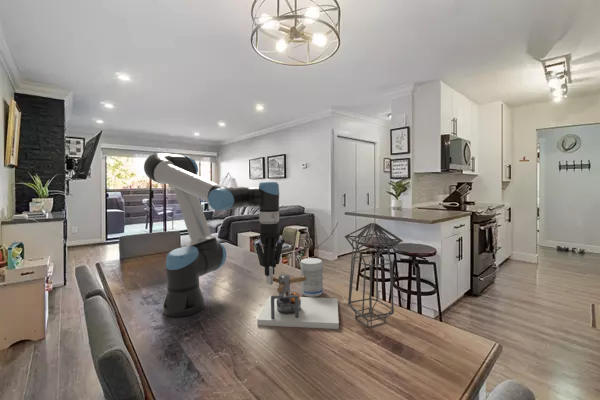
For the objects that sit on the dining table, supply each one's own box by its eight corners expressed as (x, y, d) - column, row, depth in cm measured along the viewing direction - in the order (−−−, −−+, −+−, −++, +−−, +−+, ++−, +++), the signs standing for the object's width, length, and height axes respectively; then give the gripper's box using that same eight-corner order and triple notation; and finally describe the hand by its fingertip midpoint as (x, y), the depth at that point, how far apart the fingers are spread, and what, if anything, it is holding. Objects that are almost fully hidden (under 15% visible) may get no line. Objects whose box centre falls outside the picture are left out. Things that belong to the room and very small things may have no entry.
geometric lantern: (340, 314, 106) (341, 221, 104) (374, 307, 112) (376, 219, 110) (366, 335, 91) (368, 227, 89) (404, 326, 97) (406, 224, 96)
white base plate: (257, 325, 98) (256, 295, 98) (269, 300, 118) (269, 275, 118) (338, 329, 95) (338, 298, 95) (337, 303, 115) (337, 277, 114)
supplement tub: (327, 294, 124) (327, 261, 123) (309, 299, 119) (309, 265, 118) (313, 287, 132) (313, 256, 131) (296, 292, 127) (296, 259, 126)
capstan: (252, 308, 107) (252, 277, 106) (280, 294, 119) (280, 266, 118) (284, 320, 97) (284, 287, 96) (311, 303, 110) (311, 274, 109)
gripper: (259, 224, 101) (260, 290, 102) (288, 222, 109) (288, 282, 110) (249, 222, 107) (250, 284, 108) (277, 220, 115) (278, 277, 116)
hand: (269, 283), depth 109 cm, fingers closed
